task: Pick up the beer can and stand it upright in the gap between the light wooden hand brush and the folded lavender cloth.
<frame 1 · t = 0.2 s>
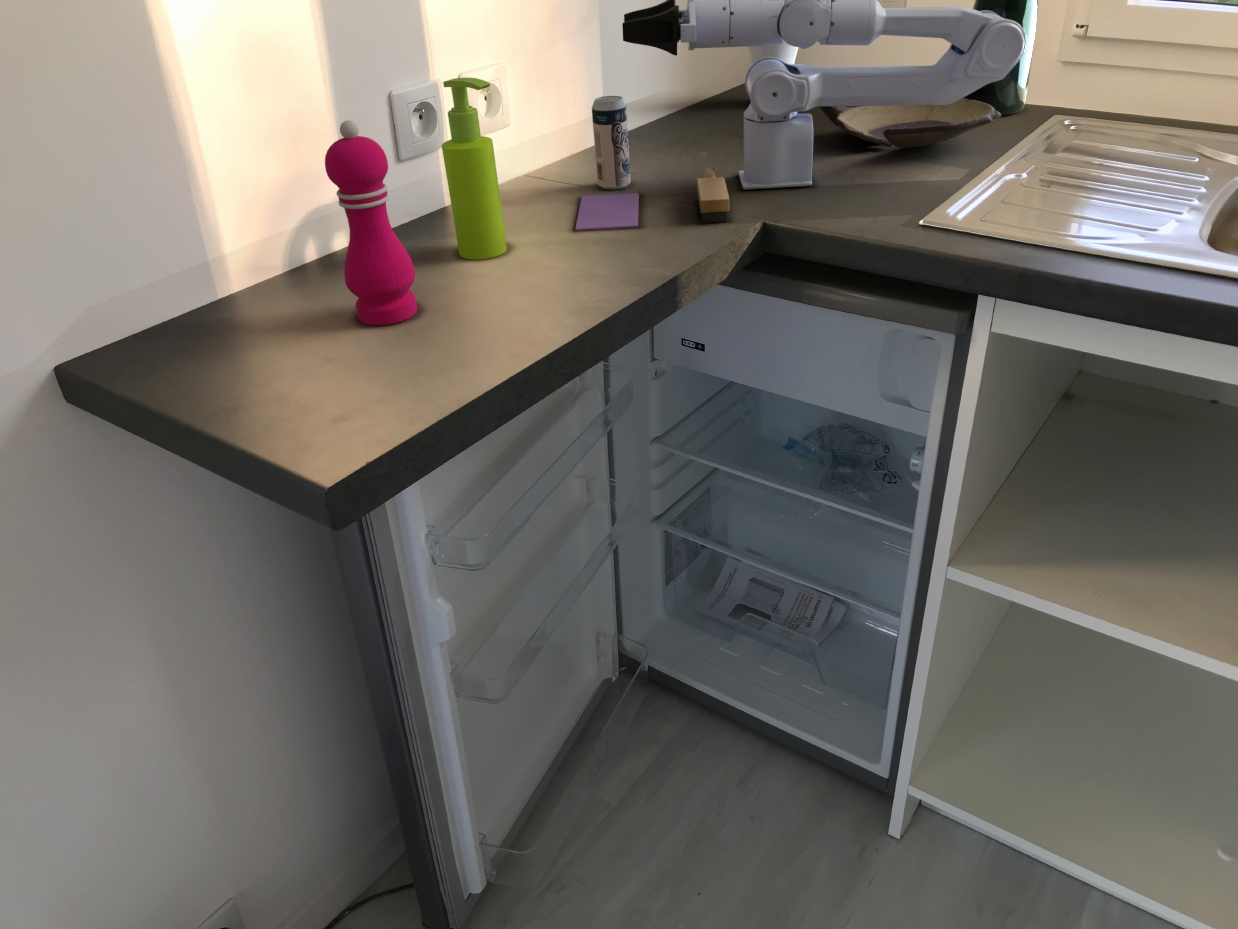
hand: (623, 27, 122), 21 cm above the countertop, tool horizontal, fingers open, 7 cm apart
soap dispenser: (486, 253, 115), on the countertop
cloth: (608, 212, 125), on the countertop
pepper mill: (388, 315, 101), on the countertop
brown handled bowl: (898, 141, 147), on the countertop
cup: (772, 103, 174), on the countertop
beer bottle: (990, 111, 159), on the countertop
beer can: (614, 187, 136), on the countertop
hand brush: (712, 210, 123), on the countertop
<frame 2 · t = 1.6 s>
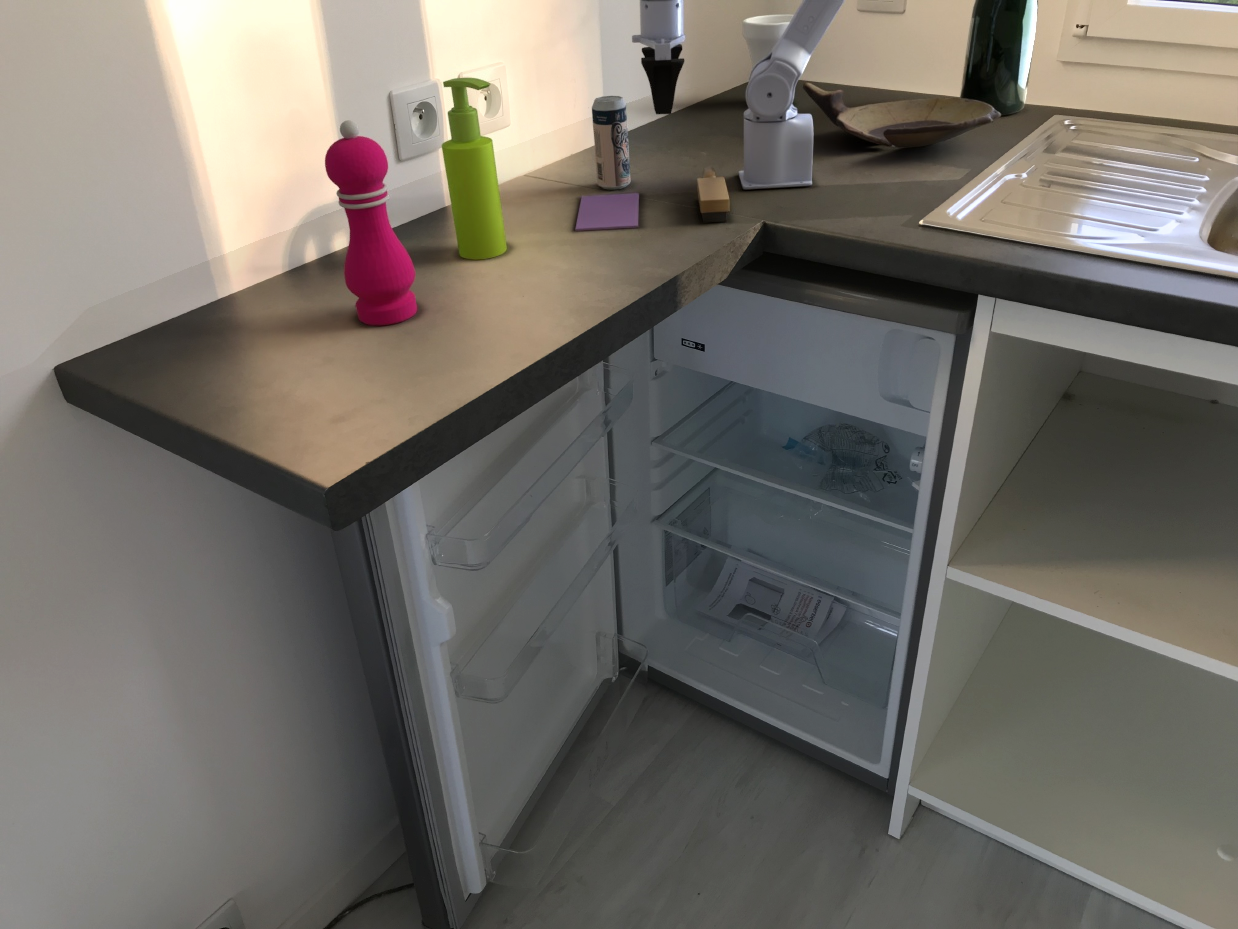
hand: (663, 107, 130), 10 cm above the countertop, tool pointing down, fingers open, 7 cm apart
nothing on the countertop moved.
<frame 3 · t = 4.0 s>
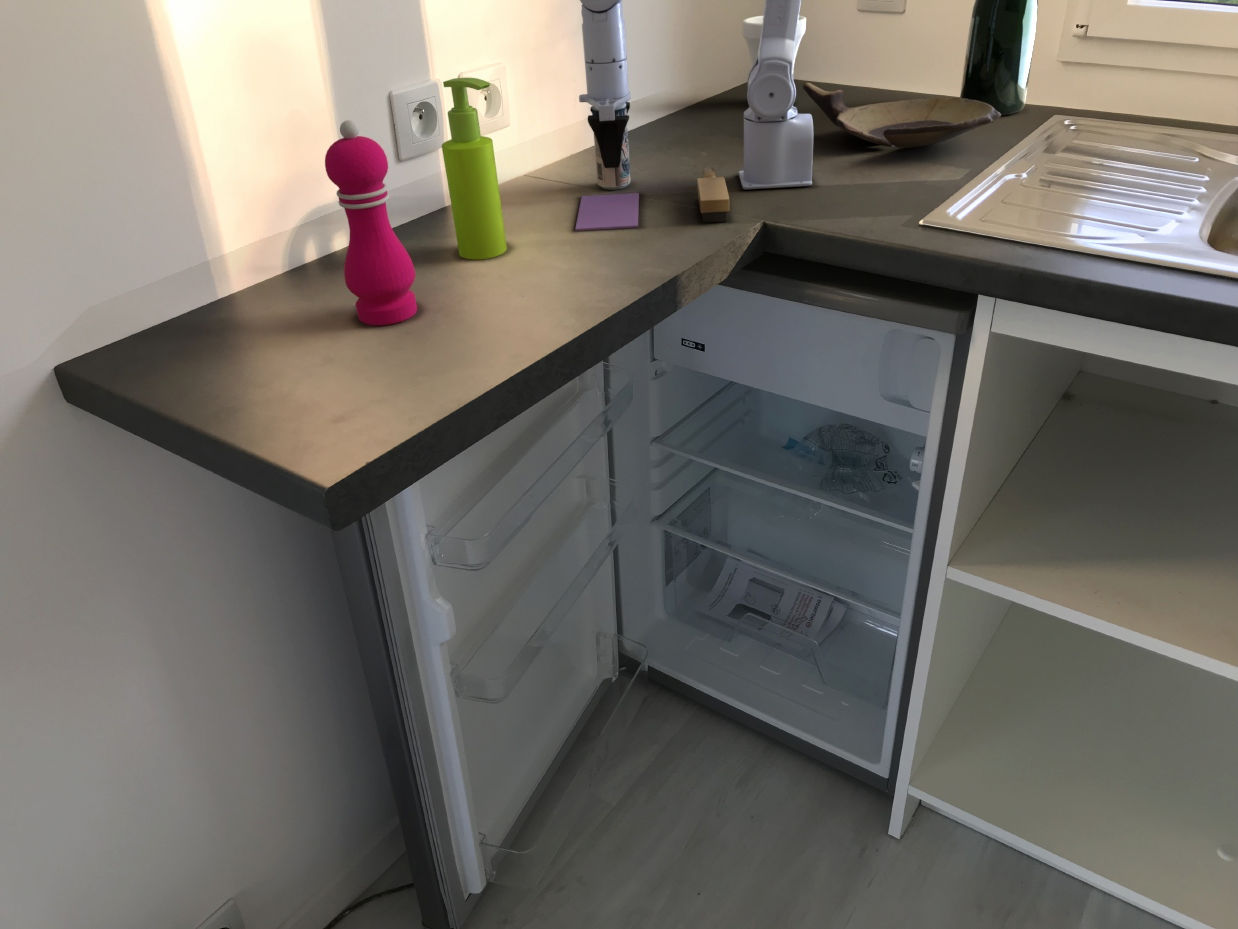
hand: (612, 162, 134), 3 cm above the countertop, tool pointing down, fingers closed on beer can, 5 cm apart
beer can: (614, 187, 136), on the countertop, touching gripper
everything else where it was.
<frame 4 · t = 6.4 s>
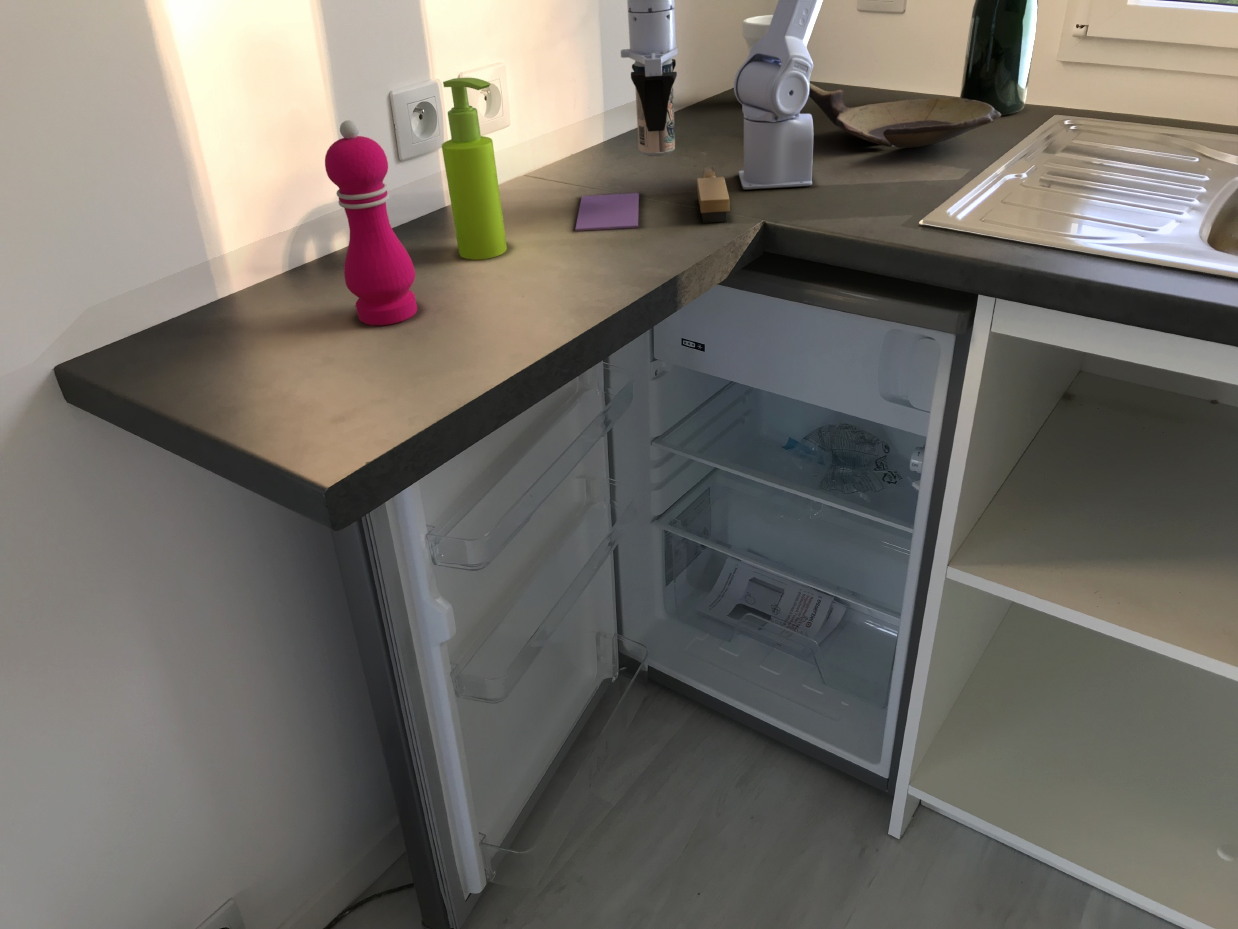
hand: (656, 125, 121), 10 cm above the countertop, tool pointing down, fingers closed on beer can, 5 cm apart
beer can: (657, 154, 123), point 7 cm above the countertop, touching gripper
everything else where it was.
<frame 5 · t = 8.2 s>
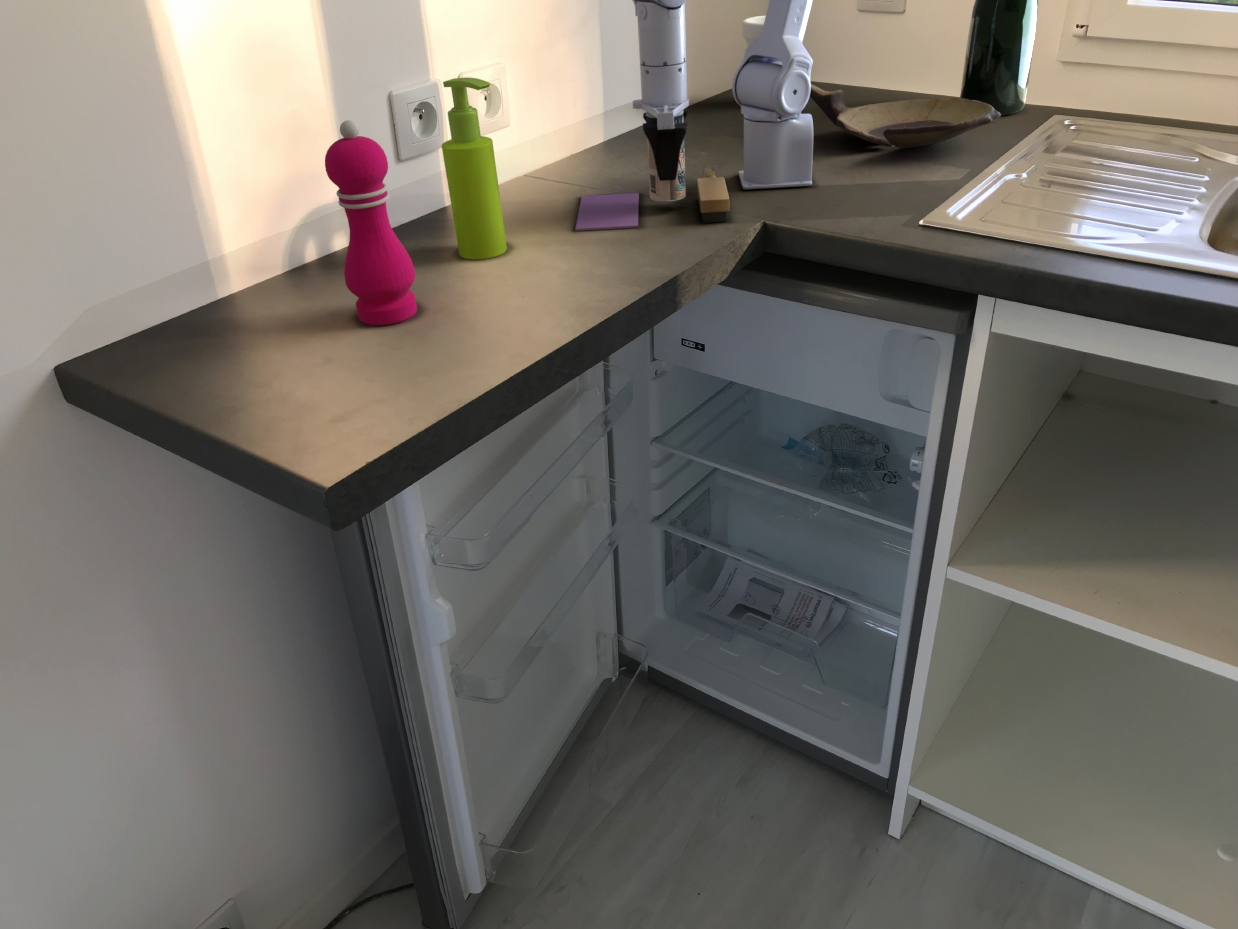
hand: (667, 173, 122), 5 cm above the countertop, tool pointing down, fingers closed on beer can, 5 cm apart
beer can: (667, 201, 124), point 1 cm above the countertop, touching gripper
everything else where it was.
when the fingers open (3 cm above the countertop, at t = 9.1 s): beer can stays where it is, on the countertop.
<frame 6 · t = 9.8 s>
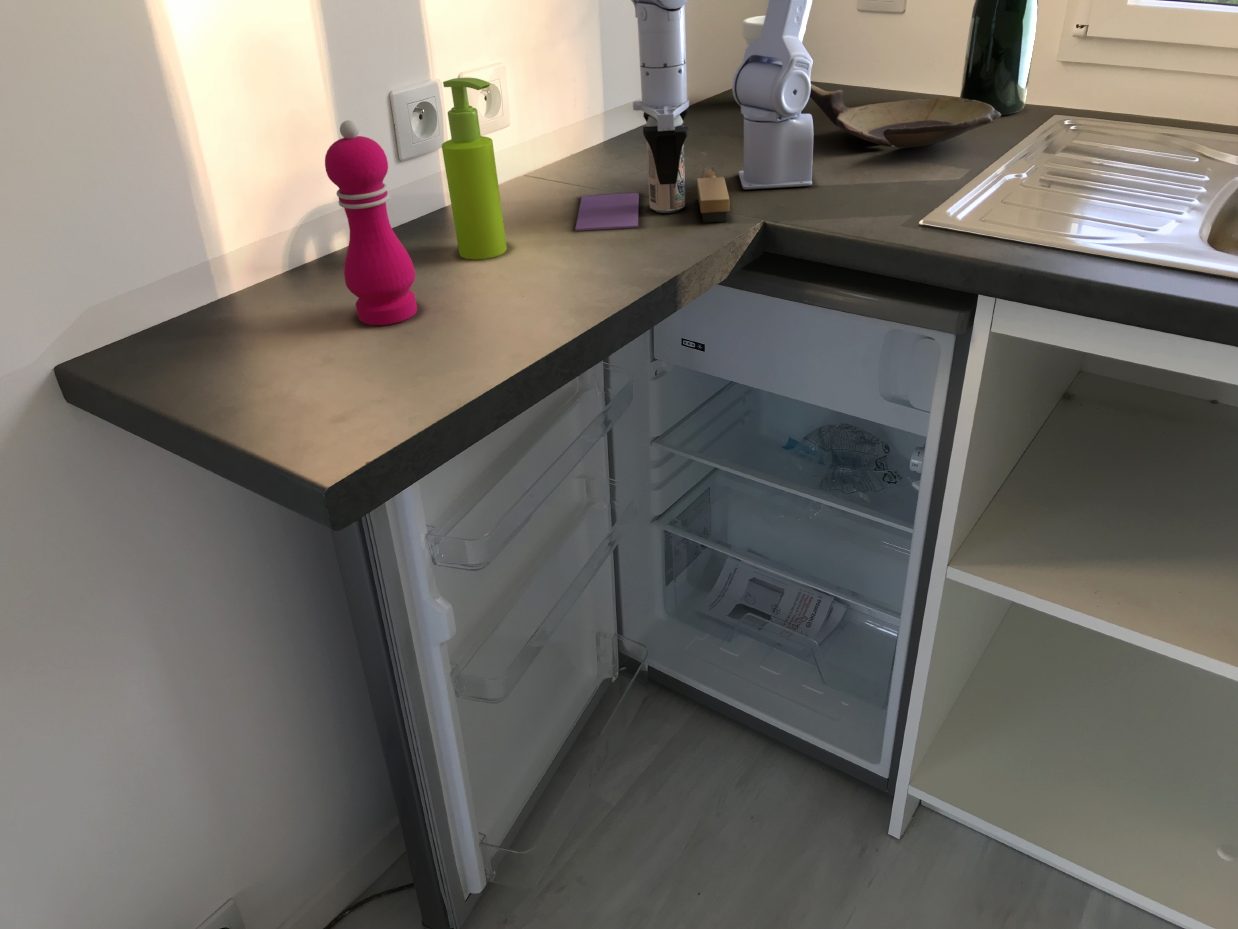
hand: (667, 174, 123), 4 cm above the countertop, tool pointing down, fingers open, 7 cm apart
beer can: (667, 210, 125), on the countertop
everything else where it was.
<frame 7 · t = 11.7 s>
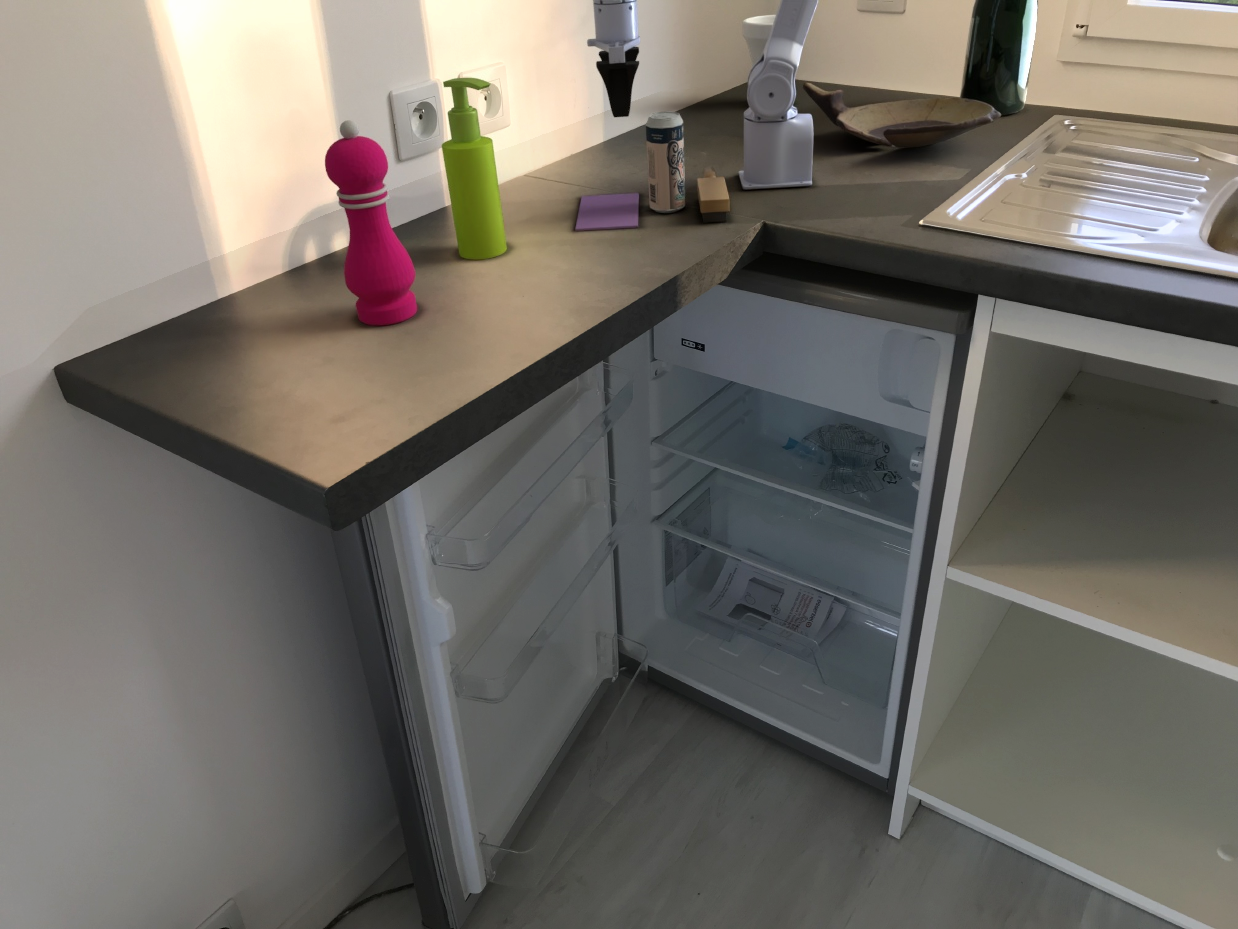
hand: (621, 110, 130), 10 cm above the countertop, tool pointing down, fingers open, 7 cm apart
nothing on the countertop moved.
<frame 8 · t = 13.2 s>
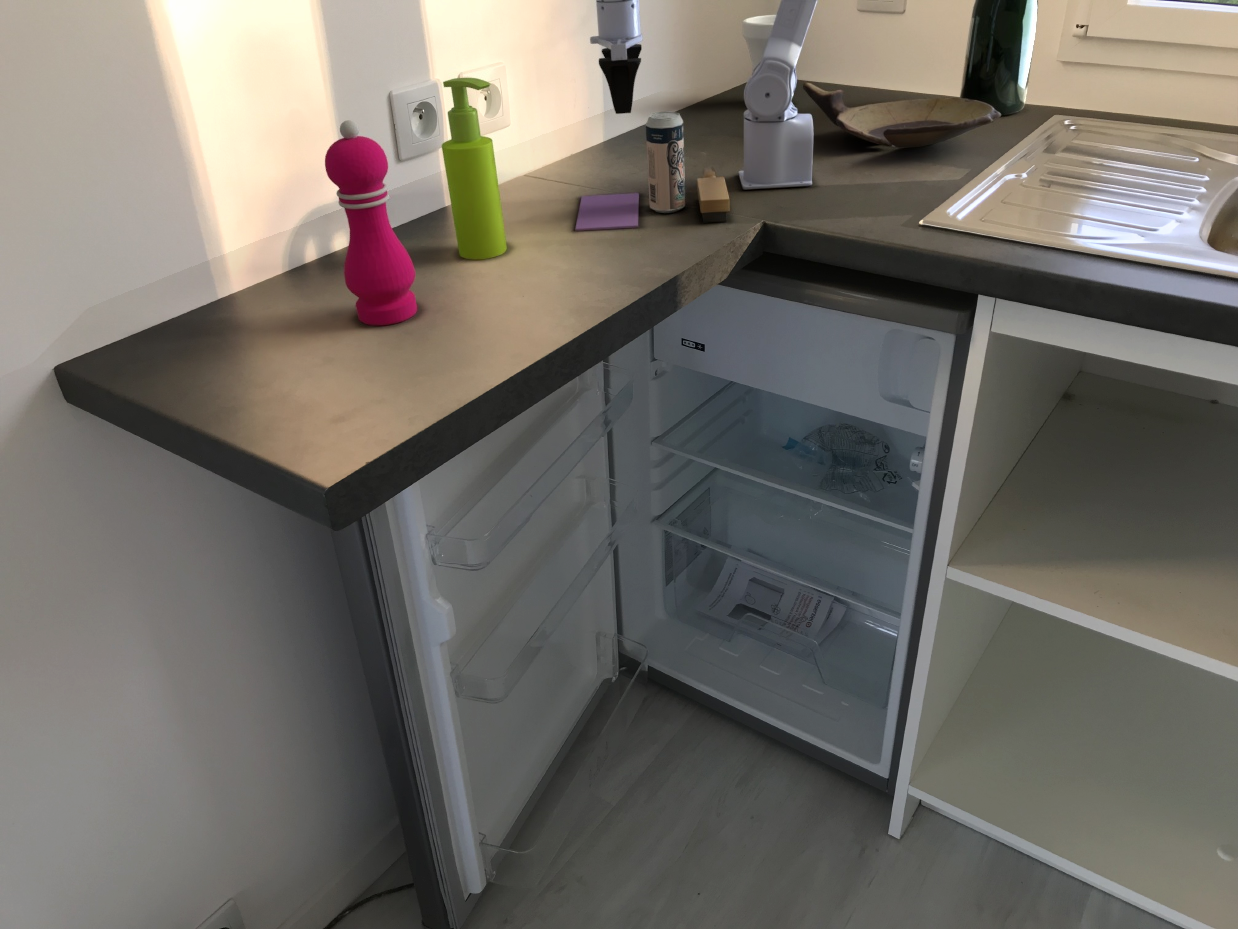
hand: (623, 106, 131), 10 cm above the countertop, tool pointing down, fingers open, 7 cm apart
nothing on the countertop moved.
at the end: beer can 0.0 cm from the target spot, on the countertop; beer can tilted 0°; the gripper is holding nothing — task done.
